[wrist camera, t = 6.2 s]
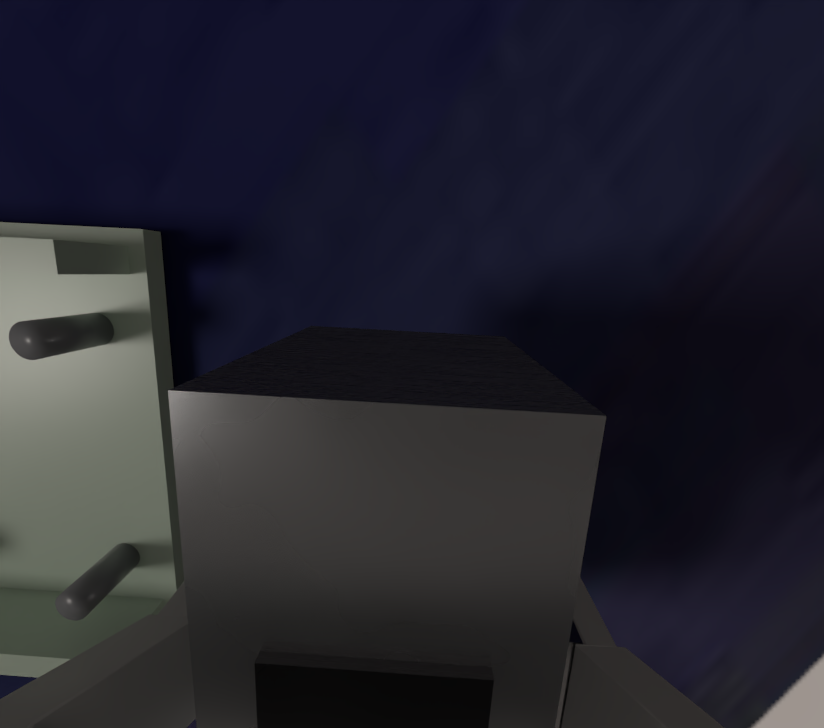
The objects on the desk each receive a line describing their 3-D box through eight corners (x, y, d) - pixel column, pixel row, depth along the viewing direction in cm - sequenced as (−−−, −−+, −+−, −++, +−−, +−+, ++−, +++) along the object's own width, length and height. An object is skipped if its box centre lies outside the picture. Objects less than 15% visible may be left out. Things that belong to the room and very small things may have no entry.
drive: (467, 702, 11) (503, 1070, 6) (312, 690, 11) (217, 1045, 6) (504, 336, 9) (613, 422, 4) (311, 325, 9) (157, 395, 4)
